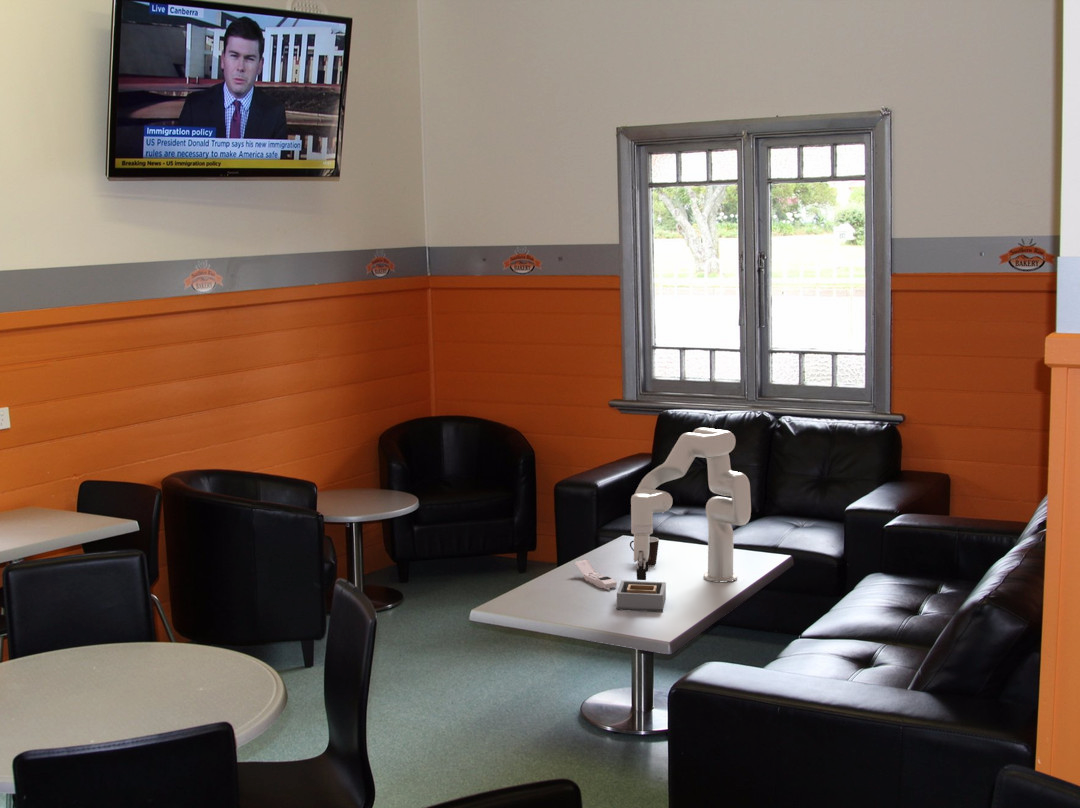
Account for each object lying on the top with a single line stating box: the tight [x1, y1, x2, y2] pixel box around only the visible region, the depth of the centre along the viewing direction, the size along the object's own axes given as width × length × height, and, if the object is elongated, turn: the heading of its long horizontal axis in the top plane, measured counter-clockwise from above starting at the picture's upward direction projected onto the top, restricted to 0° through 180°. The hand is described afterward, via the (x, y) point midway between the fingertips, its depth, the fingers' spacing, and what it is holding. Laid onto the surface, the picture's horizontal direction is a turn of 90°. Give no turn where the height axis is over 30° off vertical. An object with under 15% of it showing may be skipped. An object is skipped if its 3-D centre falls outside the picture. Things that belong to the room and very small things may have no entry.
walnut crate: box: [627, 584, 657, 594], centre depth 406 cm, size 7×10×5 cm
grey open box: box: [616, 580, 667, 613], centre depth 406 cm, size 16×16×6 cm
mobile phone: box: [574, 559, 618, 591], centre depth 434 cm, size 6×6×25 cm
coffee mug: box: [629, 536, 660, 566], centre depth 460 cm, size 12×9×10 cm
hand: (642, 575), depth 405 cm, fingers open, 9 cm apart
